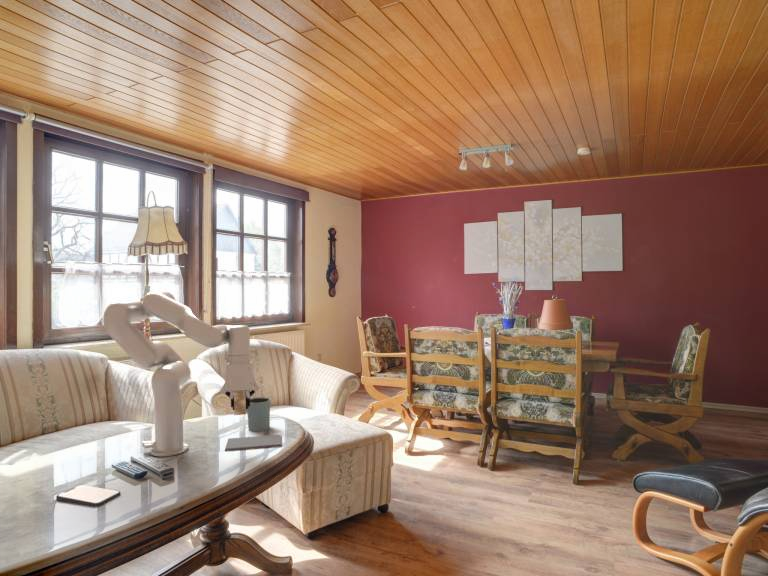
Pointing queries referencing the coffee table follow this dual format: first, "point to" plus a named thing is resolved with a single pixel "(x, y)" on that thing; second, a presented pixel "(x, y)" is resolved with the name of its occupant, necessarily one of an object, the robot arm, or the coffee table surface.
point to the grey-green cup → (259, 414)
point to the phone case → (87, 495)
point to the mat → (253, 442)
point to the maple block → (240, 402)
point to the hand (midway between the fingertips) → (240, 408)
